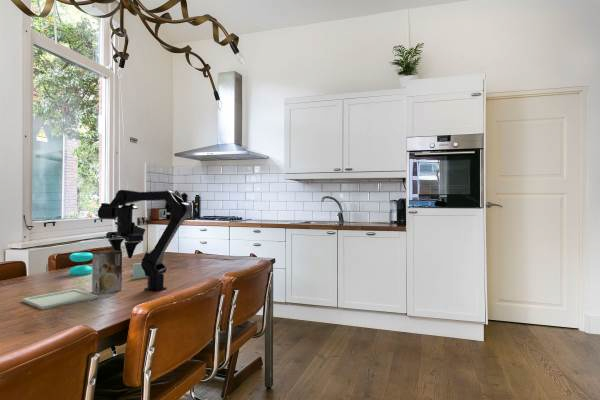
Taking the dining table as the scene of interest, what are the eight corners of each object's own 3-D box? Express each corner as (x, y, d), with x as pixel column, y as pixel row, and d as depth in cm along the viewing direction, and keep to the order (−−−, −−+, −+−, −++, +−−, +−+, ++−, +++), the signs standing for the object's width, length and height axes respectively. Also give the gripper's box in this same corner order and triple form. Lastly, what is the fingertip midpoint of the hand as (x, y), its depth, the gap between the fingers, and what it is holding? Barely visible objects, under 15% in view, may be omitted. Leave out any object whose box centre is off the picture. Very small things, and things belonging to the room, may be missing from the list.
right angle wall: (145, 273, 189) (145, 258, 189) (157, 276, 181) (158, 261, 181) (121, 276, 179) (122, 261, 179) (133, 280, 172) (134, 264, 172)
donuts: (90, 254, 177) (66, 255, 174) (89, 275, 177) (66, 276, 174) (95, 251, 187) (72, 252, 184) (94, 271, 187) (72, 272, 184)
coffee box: (114, 287, 154) (115, 249, 154) (122, 290, 150) (122, 251, 150) (91, 292, 147) (92, 251, 147) (98, 294, 143) (99, 253, 143)
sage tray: (97, 298, 138) (97, 295, 138) (42, 309, 123) (42, 306, 123) (76, 291, 147) (76, 288, 147) (22, 301, 132) (22, 298, 132)
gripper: (155, 220, 156) (154, 257, 156) (130, 218, 166) (129, 252, 166) (130, 221, 147) (129, 260, 147) (105, 218, 157) (104, 255, 157)
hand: (123, 256), depth 155 cm, fingers open, 9 cm apart
